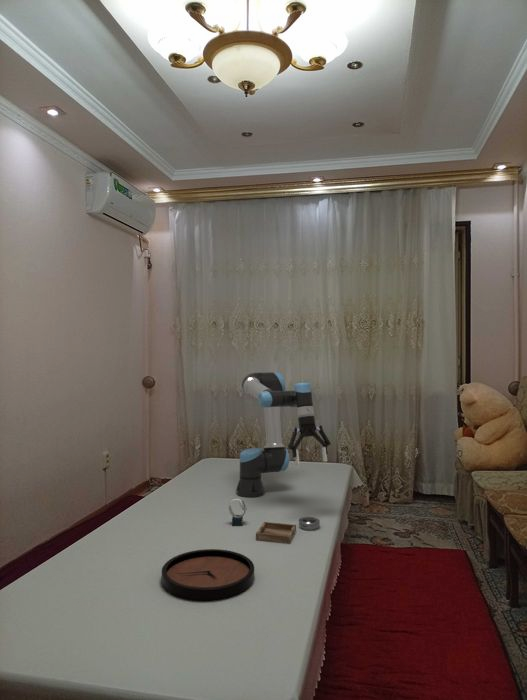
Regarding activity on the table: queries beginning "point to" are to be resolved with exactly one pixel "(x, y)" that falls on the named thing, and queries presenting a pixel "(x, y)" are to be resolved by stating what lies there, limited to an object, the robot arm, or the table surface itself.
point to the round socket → (309, 523)
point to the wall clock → (207, 575)
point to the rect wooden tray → (276, 532)
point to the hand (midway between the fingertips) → (311, 463)
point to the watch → (238, 519)
